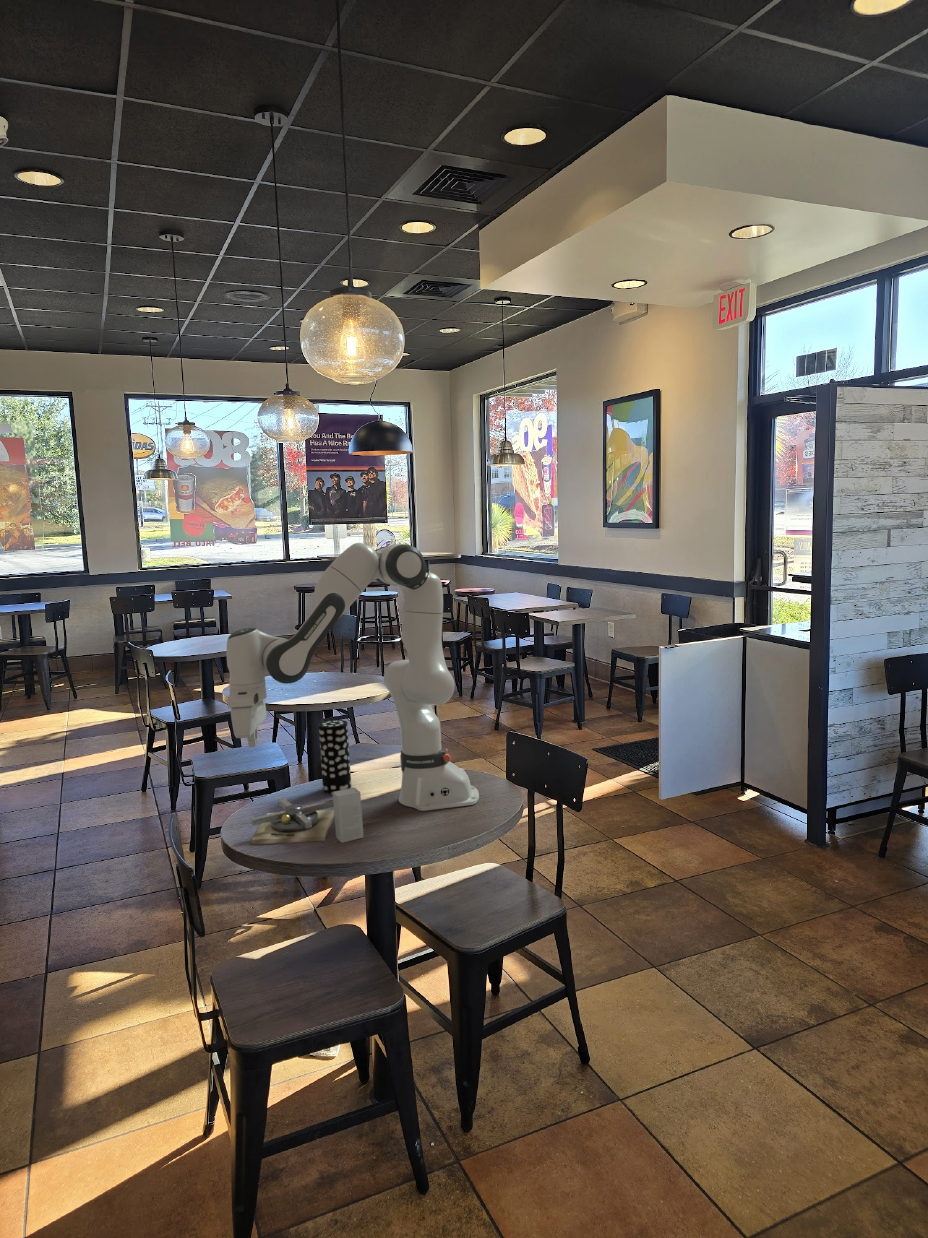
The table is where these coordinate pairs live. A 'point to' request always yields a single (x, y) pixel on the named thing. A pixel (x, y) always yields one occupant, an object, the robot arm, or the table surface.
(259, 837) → the beige base plate
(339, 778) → the spotted tube
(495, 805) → the table surface
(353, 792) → the skincare box
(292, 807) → the capstan
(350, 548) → the robot arm
